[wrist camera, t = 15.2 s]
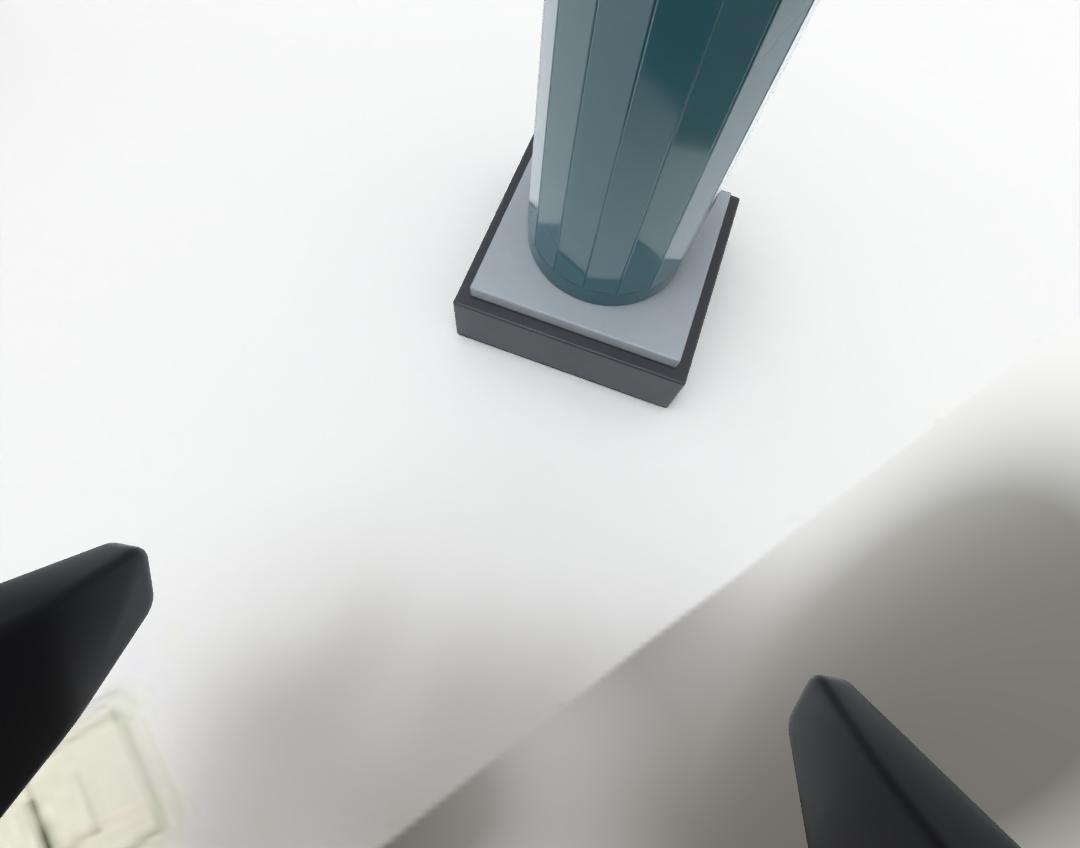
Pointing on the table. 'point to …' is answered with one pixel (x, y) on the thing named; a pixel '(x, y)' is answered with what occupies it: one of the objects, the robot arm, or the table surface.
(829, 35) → the table surface
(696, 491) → the table surface
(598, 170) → the tumbler
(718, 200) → the scale
